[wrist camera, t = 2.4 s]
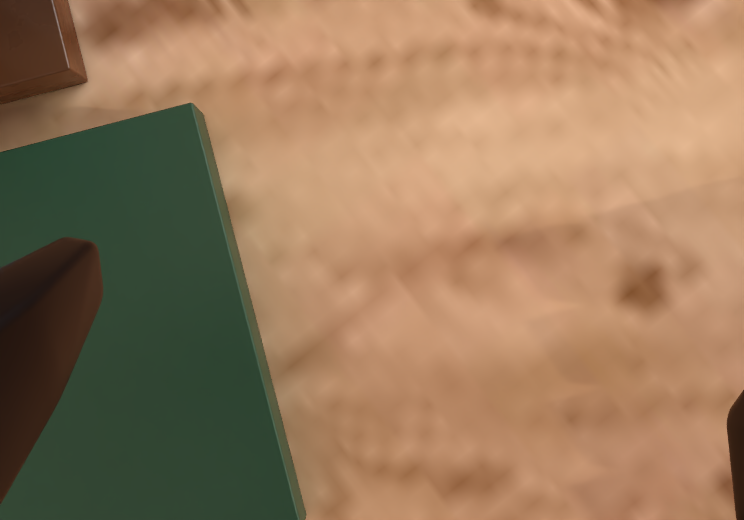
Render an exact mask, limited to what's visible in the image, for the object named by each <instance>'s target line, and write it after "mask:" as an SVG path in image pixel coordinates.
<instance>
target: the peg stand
mask: <svg viewBox="0 0 744 520" xmlns="http://www.w3.org/2000/svg"><path fill="white" fill-rule="evenodd" d="M87 80H88V79H87V75H86V71H85V67H84V63H83V59H82V55H81V51H80V47H79V44H78V40H77V36H76V32H75V28H74V24H73V20H72V16H71V12H70V8H69V4H68V0H0V104H4V103H8V102H12V101H16V100H19V99H23V98H27V97H31V96H35V95H39V94H42V93H46V92H50V91H54V90H58V89H62V88H65V87H69V86H73V85H77V84H81V83H85V82H87Z"/></svg>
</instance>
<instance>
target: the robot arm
mask: <svg viewBox="0 0 744 520" xmlns="http://www.w3.org/2000/svg"><path fill="white" fill-rule="evenodd" d="M102 297H103V281H102V273H101V265H100V257H99V251H98V247H97V245H96V244H95V243H93V242H92V241H88V240H82V239H77V238H72V237H63V238H61V239H58V240H56V241H54V242H52V243H50V244H48V245H46V246H44V247H42V248H40V249H38V250H36V251H34V252H32V253H30V254H28V255H26V256H24V257H22V258H20V259H18V260H16V261H13V262H11V263H9V264H7V265H5V266H3V267H1V268H0V505H1V503H2V501H3V499H4V498H5V496H6V494H7V492H8V491H9V489H10V487H11V485H12V484H13V482H14V480H15V478H16V477H17V475H18V473H19V471H20V470H21V468H22V466H23V464H24V463H25V461H26V459H27V457H28V456H29V454H30V452H31V450H32V448H33V447H34V445H35V443H36V441H37V440H38V438H39V436H40V434H41V433H42V431H43V429H44V427H45V426H46V424H47V422H48V420H49V419H50V417H51V415H52V413H53V411H54V410H55V408H56V406H57V404H58V402H59V400H60V398H61V396H62V394H63V392H64V390H65V387H66V385H67V383H68V381H69V378H70V376H71V373H72V371H73V369H74V366H75V364H76V362H77V359H78V357H79V354H80V352H81V350H82V347H83V345H84V343H85V340H86V338H87V335H88V333H89V331H90V328H91V326H92V324H93V321H94V319H95V316H96V314H97V312H98V309H99V307H100V304H101V301H102ZM727 433H728V442H729V452H730V462H731V472H732V482H733V491H734V501H735V511H736V519H737V520H744V390H743V392H742V393H741V394H740V396H739V397H738V399H737V400H736V401H735V403H734V404H733V406H732V407H731V409H730V411H729V414H728V418H727Z"/></svg>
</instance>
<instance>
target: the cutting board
mask: <svg viewBox="0 0 744 520" xmlns="http://www.w3.org/2000/svg"><path fill="white" fill-rule="evenodd" d="M63 237H72V238H77V239H82V240H88V241H92V242H93V243H95V244H96V245H97V247H98V251H99V257H100V265H101V273H102V281H103V297H102V301H101V304H100V307H99V309H98V312H97V314H96V316H95V319H94V321H93V324H92V326H91V328H90V331H89V333H88V335H87V338H86V340H85V343H84V345H83V347H82V350H81V352H80V354H79V357H78V359H77V362H76V364H75V366H74V369H73V371H72V373H71V376H70V378H69V381H68V383H67V385H66V387H65V390H64V392H63V394H62V396H61V398H60V400H59V402H58V404H57V406H56V408H55V410H54V411H53V413H52V415H51V417H50V419H49V420H48V422H47V424H46V426H45V427H44V429H43V431H42V433H41V434H40V436H39V438H38V440H37V441H36V443H35V445H34V447H33V448H32V450H31V452H30V454H29V456H28V457H27V459H26V461H25V463H24V464H23V466H22V468H21V470H20V471H19V473H18V475H17V477H16V478H15V480H14V482H13V484H12V485H11V487H10V489H9V491H8V492H7V494H6V496H5V498H4V499H3V501H2V503H1V505H0V520H305V519H306V511H305V508H304V504H303V500H302V496H301V492H300V488H299V484H298V480H297V477H296V473H295V469H294V465H293V461H292V457H291V453H290V449H289V445H288V442H287V438H286V434H285V430H284V426H283V422H282V418H281V414H280V410H279V407H278V403H277V399H276V395H275V391H274V387H273V383H272V379H271V375H270V372H269V368H268V364H267V360H266V356H265V352H264V348H263V344H262V340H261V337H260V333H259V329H258V325H257V321H256V317H255V313H254V309H253V305H252V302H251V298H250V294H249V290H248V286H247V282H246V278H245V274H244V270H243V267H242V263H241V259H240V255H239V251H238V247H237V243H236V239H235V235H234V232H233V228H232V224H231V220H230V216H229V212H228V208H227V204H226V200H225V197H224V193H223V189H222V185H221V181H220V177H219V173H218V169H217V165H216V162H215V158H214V154H213V150H212V146H211V142H210V138H209V134H208V130H207V127H206V123H205V119H204V115H203V113H202V112H201V111H200V110H199V109H198V108H197V107H196V106H195V105H194V104H193V103H188V104H184V105H180V106H176V107H172V108H168V109H165V110H161V111H157V112H153V113H149V114H145V115H142V116H138V117H134V118H130V119H126V120H122V121H119V122H115V123H111V124H107V125H103V126H99V127H96V128H92V129H88V130H84V131H80V132H76V133H73V134H69V135H65V136H61V137H57V138H53V139H50V140H46V141H42V142H38V143H34V144H30V145H27V146H23V147H19V148H15V149H11V150H7V151H4V152H0V268H1V267H3V266H5V265H7V264H9V263H11V262H13V261H16V260H18V259H20V258H22V257H24V256H26V255H28V254H30V253H32V252H34V251H36V250H38V249H40V248H42V247H44V246H46V245H48V244H50V243H52V242H54V241H56V240H58V239H61V238H63Z"/></svg>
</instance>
